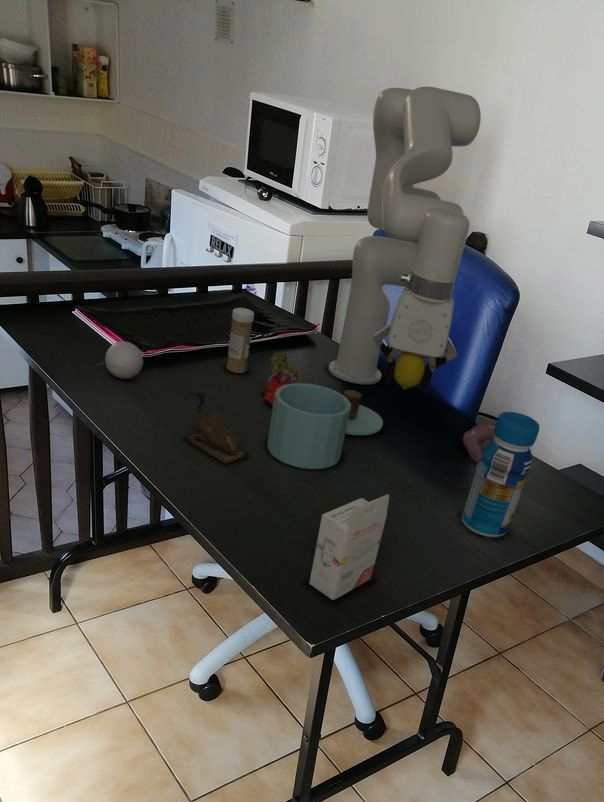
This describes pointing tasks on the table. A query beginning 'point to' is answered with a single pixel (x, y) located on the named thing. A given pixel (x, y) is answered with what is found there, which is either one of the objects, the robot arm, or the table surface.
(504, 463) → the beverage bottle
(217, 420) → the figurine
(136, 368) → the white sphere
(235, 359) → the sprinkles bottle
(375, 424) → the lid
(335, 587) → the ink cartridge box
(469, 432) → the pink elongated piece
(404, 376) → the lemon
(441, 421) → the table surface
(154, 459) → the table surface
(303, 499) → the table surface
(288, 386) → the pot
